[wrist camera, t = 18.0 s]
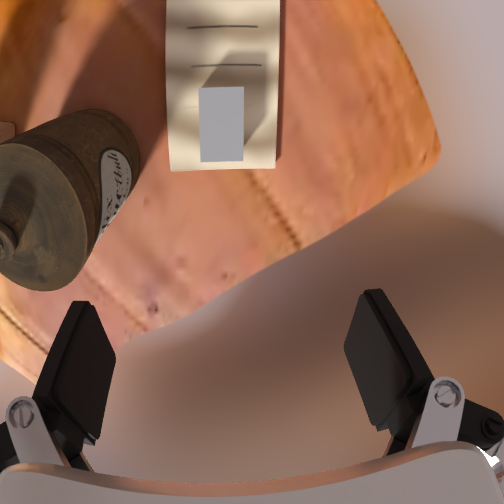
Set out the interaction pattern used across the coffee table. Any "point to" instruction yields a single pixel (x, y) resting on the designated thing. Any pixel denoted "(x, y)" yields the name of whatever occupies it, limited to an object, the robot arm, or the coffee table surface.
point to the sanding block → (221, 123)
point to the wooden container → (62, 194)
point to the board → (222, 74)
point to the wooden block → (6, 131)
